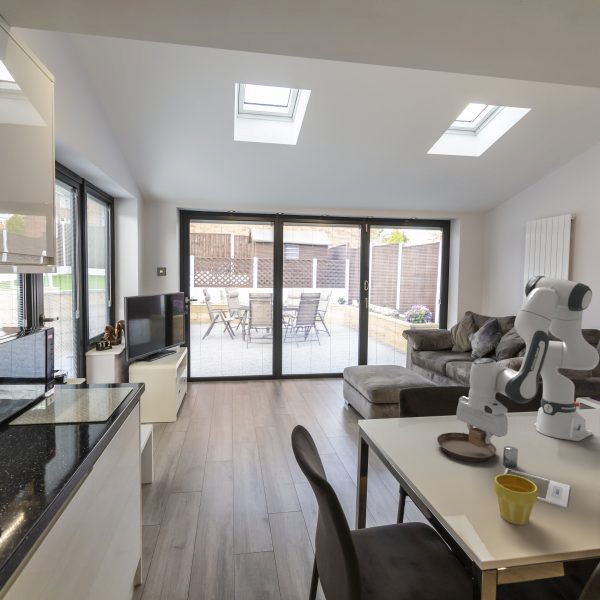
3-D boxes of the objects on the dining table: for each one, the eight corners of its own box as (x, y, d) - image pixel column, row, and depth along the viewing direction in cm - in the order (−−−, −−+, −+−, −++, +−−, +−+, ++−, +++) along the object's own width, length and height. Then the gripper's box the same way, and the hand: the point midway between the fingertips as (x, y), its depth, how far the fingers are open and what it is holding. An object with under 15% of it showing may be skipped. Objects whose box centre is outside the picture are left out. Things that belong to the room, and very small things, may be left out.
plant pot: (484, 508, 113) (486, 475, 113) (515, 504, 116) (517, 471, 115) (511, 531, 103) (513, 495, 102) (545, 527, 105) (547, 491, 105)
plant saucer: (506, 466, 139) (507, 457, 139) (446, 463, 140) (446, 454, 140) (482, 441, 160) (483, 433, 160) (430, 439, 161) (430, 431, 161)
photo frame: (566, 505, 114) (497, 484, 125) (566, 509, 114) (497, 488, 125) (569, 485, 126) (506, 467, 137) (569, 488, 126) (506, 470, 137)
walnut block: (478, 440, 151) (479, 427, 151) (489, 445, 147) (490, 431, 147) (468, 442, 149) (469, 428, 149) (479, 447, 145) (480, 433, 145)
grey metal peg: (508, 461, 143) (509, 445, 142) (519, 467, 139) (521, 450, 138) (499, 463, 141) (500, 447, 141) (510, 469, 137) (512, 452, 137)
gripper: (453, 395, 155) (451, 430, 156) (498, 412, 137) (496, 451, 138) (465, 393, 158) (463, 428, 159) (511, 410, 139) (509, 449, 140)
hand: (479, 439), depth 148 cm, fingers closed on walnut block, 5 cm apart
